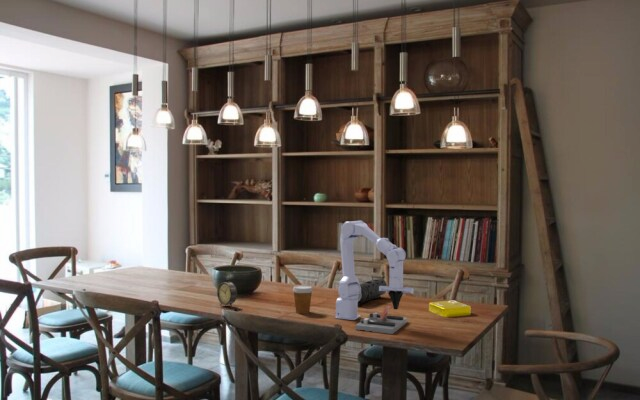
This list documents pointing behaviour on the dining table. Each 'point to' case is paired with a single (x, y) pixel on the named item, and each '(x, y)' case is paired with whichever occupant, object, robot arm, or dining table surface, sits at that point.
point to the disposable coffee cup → (302, 298)
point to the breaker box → (381, 323)
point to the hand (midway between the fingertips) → (395, 308)
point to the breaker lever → (385, 312)
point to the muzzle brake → (371, 290)
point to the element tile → (449, 308)
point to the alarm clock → (227, 293)
